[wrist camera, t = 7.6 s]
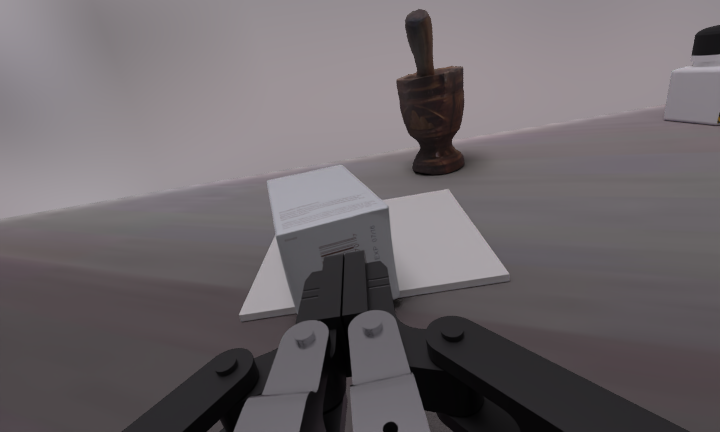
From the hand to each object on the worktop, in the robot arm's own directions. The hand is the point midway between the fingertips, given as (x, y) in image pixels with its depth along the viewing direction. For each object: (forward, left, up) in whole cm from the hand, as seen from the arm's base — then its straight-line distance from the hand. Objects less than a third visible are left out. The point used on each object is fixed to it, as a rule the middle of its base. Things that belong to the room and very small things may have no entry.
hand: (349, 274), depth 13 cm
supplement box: (-1, +8, -5) cm, 9 cm away
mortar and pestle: (+11, +37, -9) cm, 40 cm away
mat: (0, +19, -9) cm, 21 cm away
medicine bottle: (+50, +40, -9) cm, 65 cm away
